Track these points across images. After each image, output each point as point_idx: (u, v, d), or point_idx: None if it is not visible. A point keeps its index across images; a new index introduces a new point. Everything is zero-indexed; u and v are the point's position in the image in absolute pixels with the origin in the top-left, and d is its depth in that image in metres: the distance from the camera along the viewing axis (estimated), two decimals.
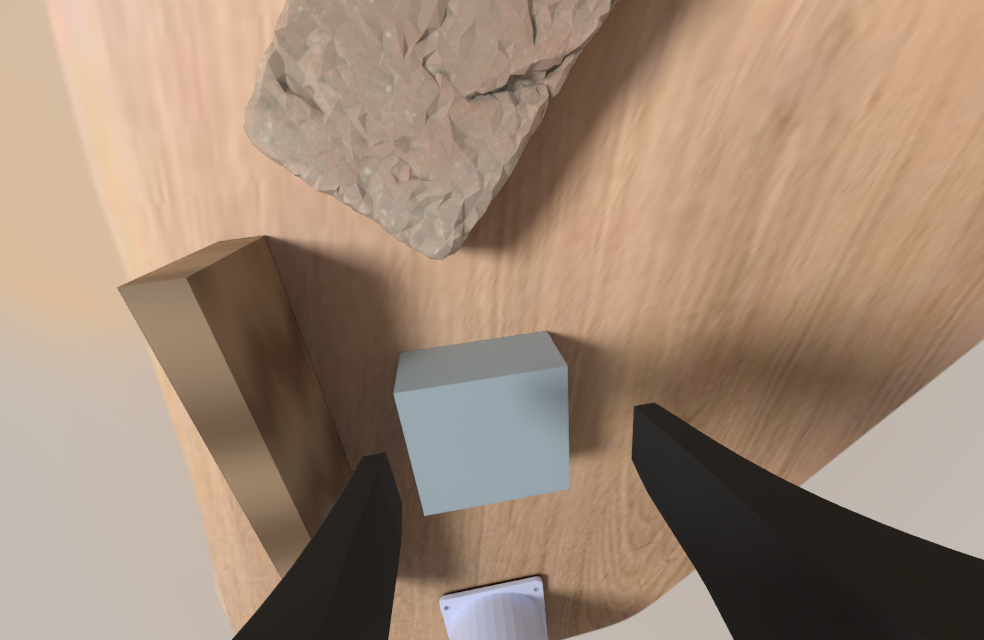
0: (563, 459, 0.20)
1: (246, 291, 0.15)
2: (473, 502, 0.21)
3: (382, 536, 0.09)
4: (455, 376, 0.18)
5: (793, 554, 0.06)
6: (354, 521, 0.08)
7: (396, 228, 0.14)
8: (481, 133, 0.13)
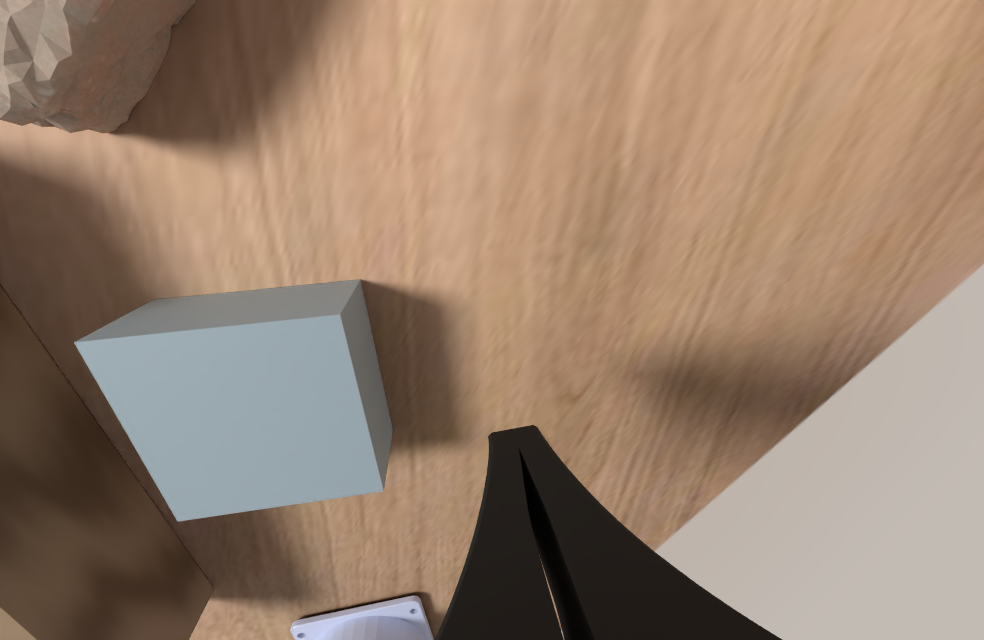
0: (365, 450, 0.15)
1: None
2: (246, 505, 0.15)
3: None
4: (181, 324, 0.13)
5: (578, 601, 0.06)
6: (519, 489, 0.08)
7: None
8: None
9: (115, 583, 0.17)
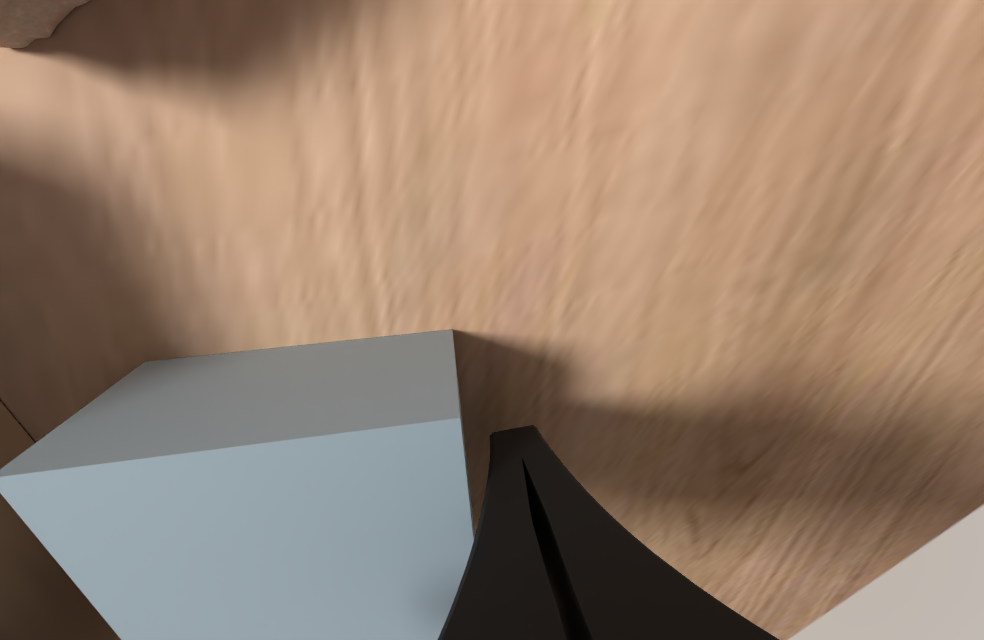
0: None
1: None
2: None
3: None
4: (185, 433, 0.07)
5: (576, 601, 0.06)
6: (521, 488, 0.08)
7: None
8: None
9: None
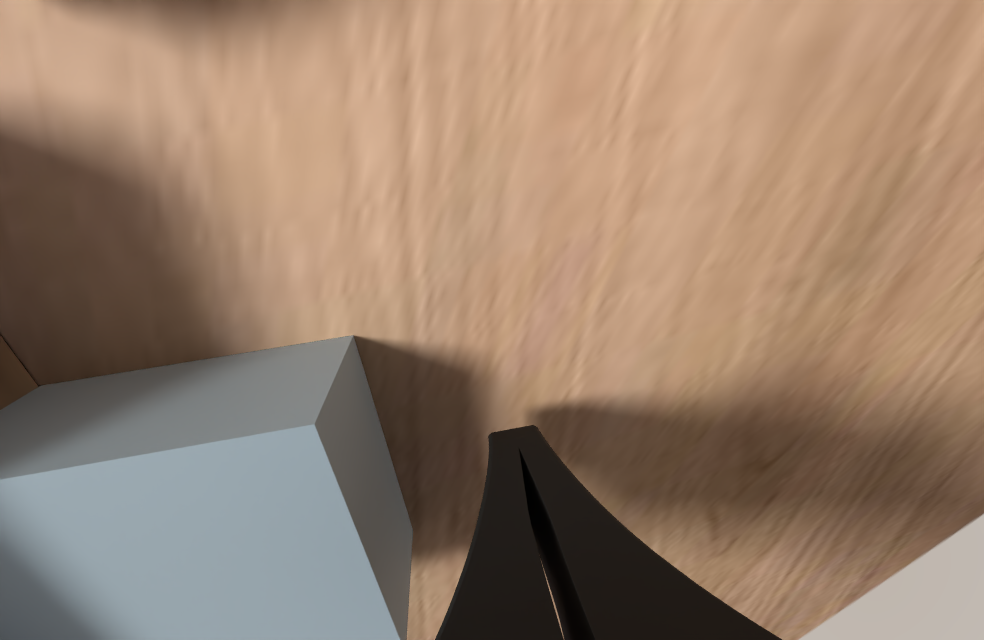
0: (373, 607, 0.10)
1: None
2: None
3: None
4: (44, 454, 0.07)
5: (578, 601, 0.06)
6: (519, 489, 0.08)
7: None
8: None
9: None
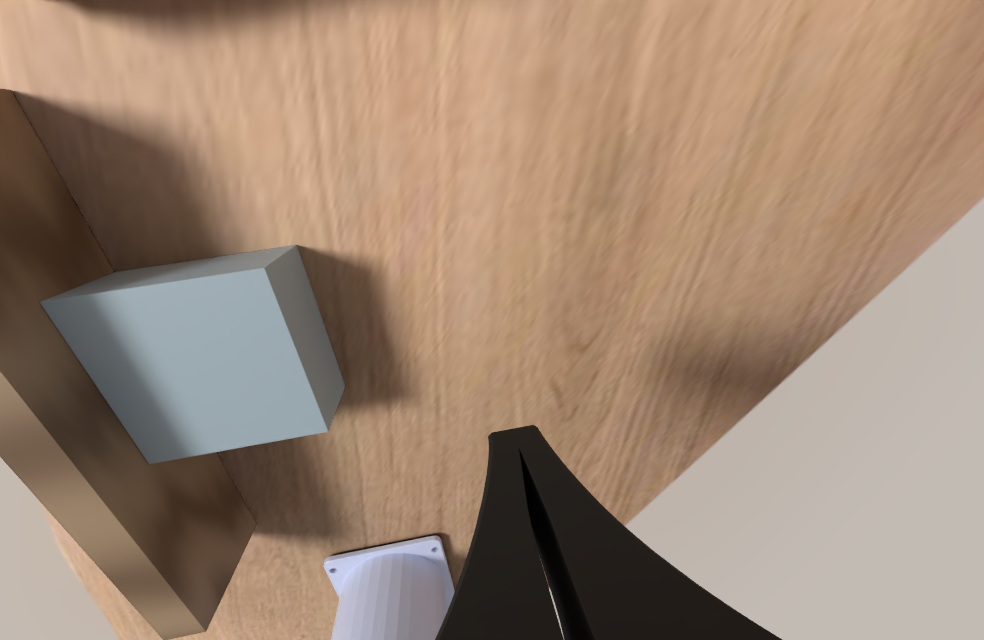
0: (305, 393, 0.17)
1: None
2: (207, 447, 0.17)
3: None
4: (131, 284, 0.15)
5: (577, 600, 0.06)
6: (519, 488, 0.08)
7: None
8: None
9: (182, 501, 0.19)
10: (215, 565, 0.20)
